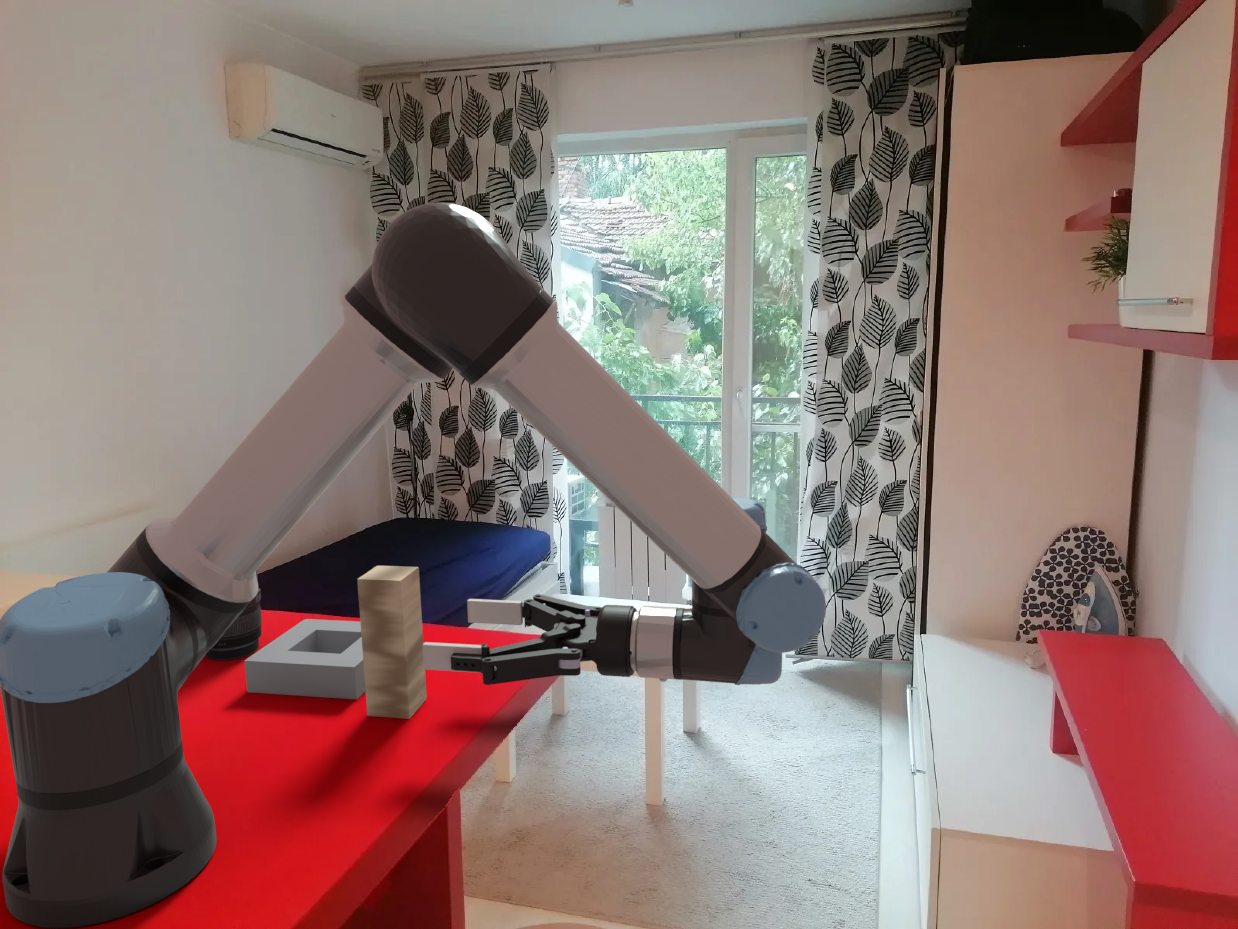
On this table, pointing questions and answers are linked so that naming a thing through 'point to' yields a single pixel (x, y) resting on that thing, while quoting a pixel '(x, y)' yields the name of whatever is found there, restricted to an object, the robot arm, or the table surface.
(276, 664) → the socket block
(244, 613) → the camera lens
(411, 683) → the peg
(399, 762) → the table surface
